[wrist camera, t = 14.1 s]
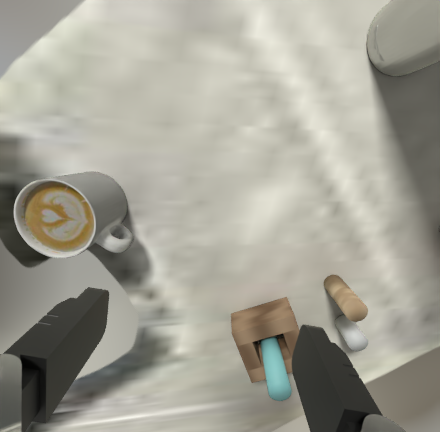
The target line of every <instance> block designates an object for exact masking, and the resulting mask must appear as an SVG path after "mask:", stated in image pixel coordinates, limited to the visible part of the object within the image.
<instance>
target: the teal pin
mask: <svg viewBox="0 0 440 432" xmlns="http://www.w3.org/2000/svg"><path fill="white" fill-rule="evenodd" d="M260 346H261V351H262V357H263V363H264V369H265V375H266V381H267V387H268V392H269V396H270V397H271V398H272V399H274V400H277V401H283V400H286V399H287V398H289V397H290V395H291V387H290V383H289V379H288V376H287V372H286V368H285V364H284V361H283V357H282V353H281V350H280V346H279V342H278V338H277V335H275V336H272V337H268V338H265V339H261V340H260Z"/></svg>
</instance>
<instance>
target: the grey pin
mask: <svg viewBox="0 0 440 432" xmlns="http://www.w3.org/2000/svg"><path fill="white" fill-rule="evenodd" d="M335 325H336V327H337V328H338V330H339V332H340V333H341V335H342V336H343V338H344V340H345V341H346V343H347V344H348V346H349V348H350V349H351V350H353V351H361V350H363V349H365V348H366V347H367V345H368V339H367V338H366V336H365V335H364V334H363V332H362V331H361V330H360V329H359V327H358V326H357V325H356V323H355V322H354V321H350V320H349V319H348V318H347V317H346V316H345V315H341V316H339V317H338V318H337V319H336V321H335Z"/></svg>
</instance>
